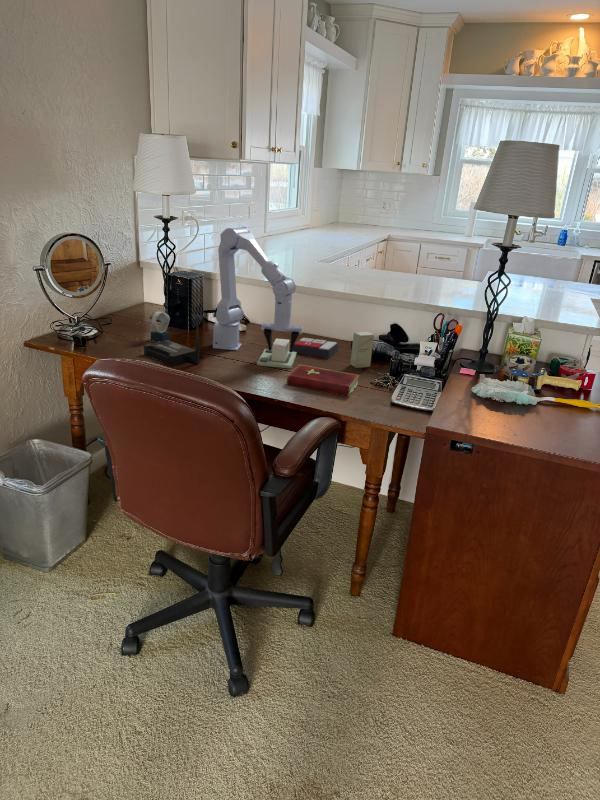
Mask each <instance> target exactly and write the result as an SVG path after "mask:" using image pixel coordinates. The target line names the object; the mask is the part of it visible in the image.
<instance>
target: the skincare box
mask: <svg viewBox="0 0 600 800" xmlns="http://www.w3.org/2000/svg"><path fill="white" fill-rule="evenodd" d="M374 337H375V334H374V333H372V332H369V331H359V332H358V331H356V332H353V337H352V345H351V355H350V361H349V362H350V363H349V365H351V366H353V367H354V368H356V369H358V368H361V369H362V368H369V367H371V363H372V362H371V361H372V354H373V347H374Z"/></svg>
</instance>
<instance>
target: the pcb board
mask: <svg viewBox="0 0 600 800" xmlns="http://www.w3.org/2000/svg"><path fill="white" fill-rule="evenodd" d="M297 354H298V353H297V352H292V353H290V350H289V354H288V357H287V359H286V362H280V361H271V360H272V349H271V350H269V347H268V348H267V347H266V348H264V350H263V352H262V354H261V355H260V356H259V358H258V360H257V362H256V366H263V367H273V368H274V367H275V368H281V369H290V370H291V369H292V367H293V365H294V362H295V360H296V356H297Z"/></svg>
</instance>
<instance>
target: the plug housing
mask: <svg viewBox="0 0 600 800" xmlns="http://www.w3.org/2000/svg"><path fill="white" fill-rule="evenodd" d="M290 342H291V339H286V338H275V340H274V341H273V343H272V360H271V361H280V362H286V359H287V357H288V354H289V351H290Z"/></svg>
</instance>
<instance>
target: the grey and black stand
mask: <svg viewBox="0 0 600 800" xmlns="http://www.w3.org/2000/svg"><path fill="white" fill-rule="evenodd" d="M143 355H144V356H147V357H149V356H150V357H149V358H151V357H153V358H152V359H154V358H156V359H158V360H157V361H159V360H161V361H163V362H162V363H164V362H166V363H168V364H167V365H169V366H171V365H172V366H171V367H175V366H174V365H176V366H179V365H178V364H180V365H183V364H187V363H190V362H192V363H195V365H200V331H199V316H196V334H195V349H194V348H191V347H188V346H186V345H183V344H179V343H177V342H174V341H172V340H165V341H160V342H157V341H155V342H152V343H151V342H150V343H147V344H143ZM156 359H155V360H156ZM161 361H160V362H161ZM166 363H165V364H166Z"/></svg>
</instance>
